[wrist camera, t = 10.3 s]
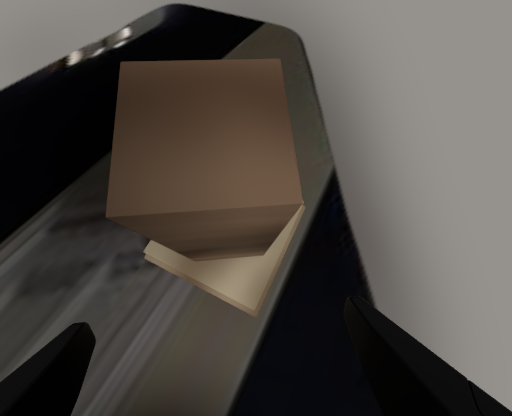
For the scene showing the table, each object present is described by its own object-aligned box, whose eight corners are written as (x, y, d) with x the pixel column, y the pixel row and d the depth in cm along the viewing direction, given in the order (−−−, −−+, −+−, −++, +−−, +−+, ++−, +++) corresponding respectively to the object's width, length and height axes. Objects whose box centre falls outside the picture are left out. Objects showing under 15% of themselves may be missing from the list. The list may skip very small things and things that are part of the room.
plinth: (300, 213, 23) (312, 198, 19) (254, 314, 20) (257, 321, 16) (209, 169, 24) (203, 147, 20) (152, 260, 21) (133, 255, 17)
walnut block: (263, 255, 18) (303, 203, 6) (194, 261, 17) (105, 217, 6) (257, 192, 19) (280, 58, 8) (193, 196, 19) (120, 61, 7)
